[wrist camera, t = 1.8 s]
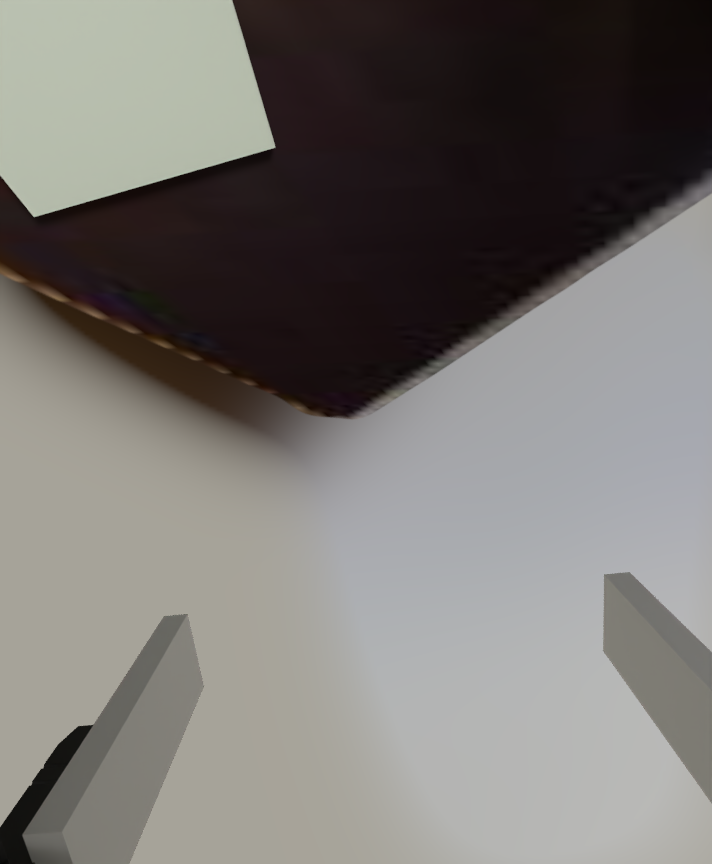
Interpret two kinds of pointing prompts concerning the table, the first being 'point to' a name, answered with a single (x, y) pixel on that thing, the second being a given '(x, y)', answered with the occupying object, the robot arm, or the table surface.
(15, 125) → the sage pad
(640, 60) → the table surface
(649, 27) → the table surface
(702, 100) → the table surface
